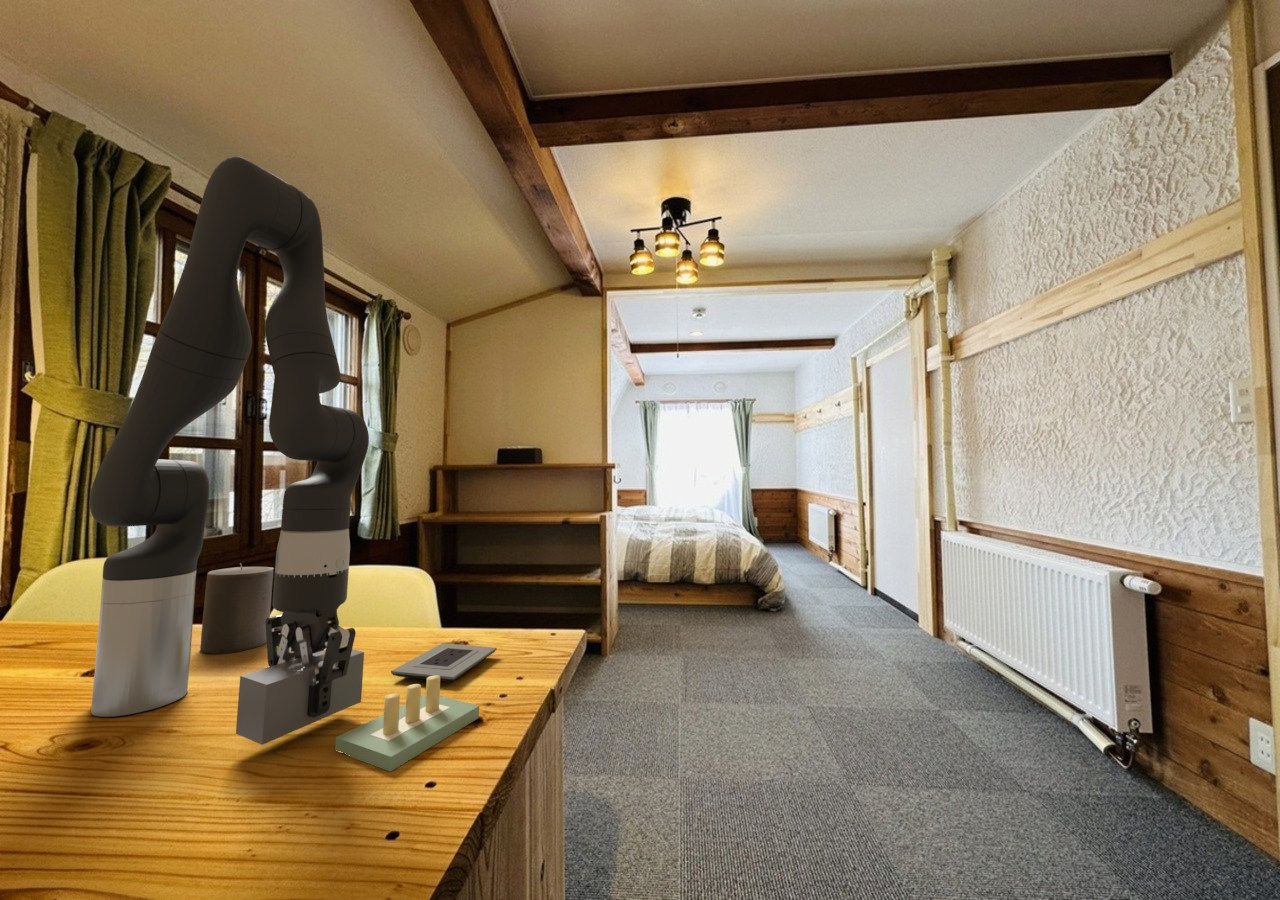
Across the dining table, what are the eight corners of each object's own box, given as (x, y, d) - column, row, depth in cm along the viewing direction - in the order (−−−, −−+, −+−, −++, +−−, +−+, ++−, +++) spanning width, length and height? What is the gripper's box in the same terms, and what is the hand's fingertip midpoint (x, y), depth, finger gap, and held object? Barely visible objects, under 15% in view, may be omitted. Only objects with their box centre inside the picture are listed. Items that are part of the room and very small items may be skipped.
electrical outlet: (452, 691, 72) (453, 675, 72) (390, 684, 74) (391, 668, 74) (496, 660, 84) (496, 646, 85) (441, 655, 87) (442, 641, 87)
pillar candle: (211, 658, 83) (218, 569, 84) (192, 647, 88) (199, 563, 89) (277, 643, 91) (283, 562, 92) (256, 634, 96) (262, 557, 97)
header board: (335, 751, 55) (337, 701, 55) (428, 704, 66) (429, 662, 67) (390, 771, 51) (392, 717, 51) (478, 717, 63) (480, 674, 63)
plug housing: (235, 733, 54) (240, 675, 55) (335, 693, 64) (339, 645, 65) (262, 744, 52) (266, 684, 52) (361, 701, 62) (364, 651, 63)
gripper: (244, 565, 59) (233, 709, 58) (319, 578, 53) (308, 738, 52) (308, 557, 66) (299, 685, 65) (381, 567, 60) (372, 709, 59)
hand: (303, 708), depth 58 cm, fingers closed on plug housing, 5 cm apart
